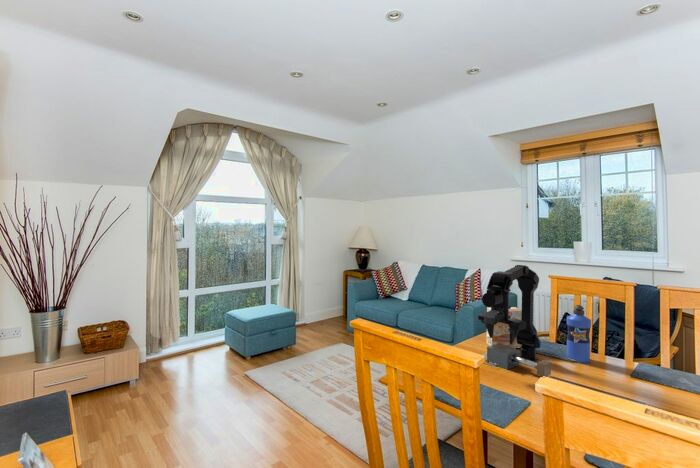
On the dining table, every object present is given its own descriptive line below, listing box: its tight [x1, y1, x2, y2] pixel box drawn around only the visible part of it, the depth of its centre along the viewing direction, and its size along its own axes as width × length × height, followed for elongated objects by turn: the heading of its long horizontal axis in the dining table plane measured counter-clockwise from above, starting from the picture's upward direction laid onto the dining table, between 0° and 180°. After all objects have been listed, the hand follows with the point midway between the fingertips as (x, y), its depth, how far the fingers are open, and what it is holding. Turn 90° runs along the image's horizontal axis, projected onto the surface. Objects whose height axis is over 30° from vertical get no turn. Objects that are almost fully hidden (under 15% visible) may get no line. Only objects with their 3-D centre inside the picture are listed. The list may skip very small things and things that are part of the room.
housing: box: [486, 343, 521, 371], centre depth 156 cm, size 9×10×7 cm
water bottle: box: [566, 304, 592, 364], centre depth 160 cm, size 9×9×25 cm
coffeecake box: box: [486, 306, 522, 348], centre depth 177 cm, size 15×7×20 cm, turn 91°
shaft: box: [511, 355, 552, 378], centre depth 147 cm, size 5×18×5 cm, turn 33°
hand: (500, 340), depth 144 cm, fingers open, 9 cm apart
